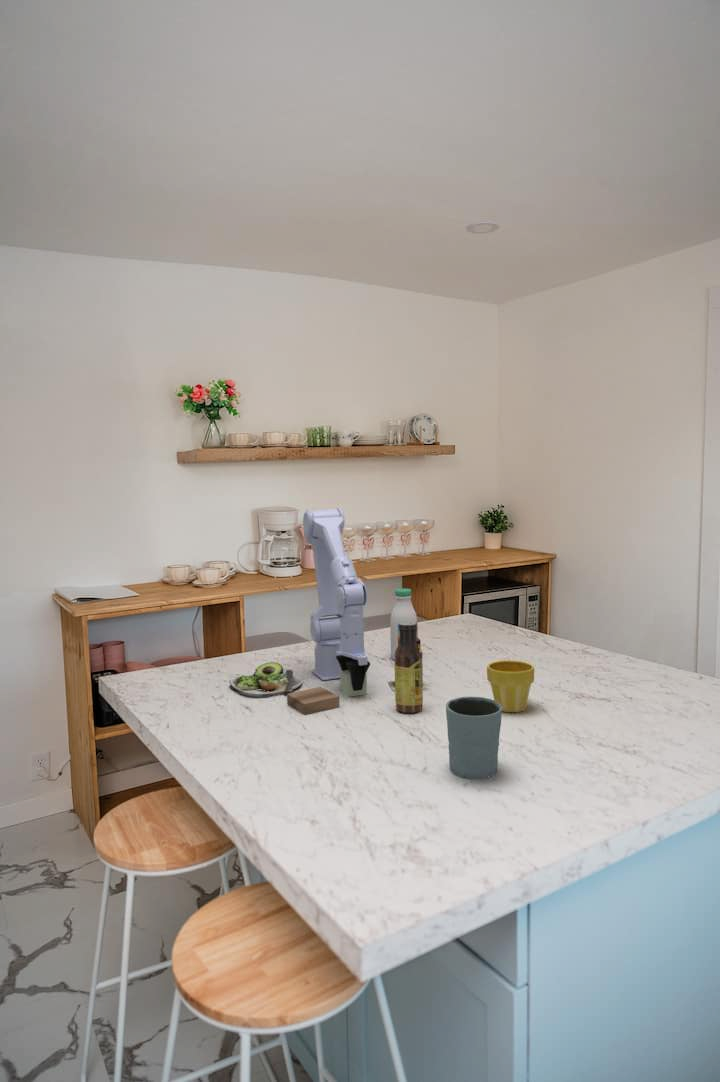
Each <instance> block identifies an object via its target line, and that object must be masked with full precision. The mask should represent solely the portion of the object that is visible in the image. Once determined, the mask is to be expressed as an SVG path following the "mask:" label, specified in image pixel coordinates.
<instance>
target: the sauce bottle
mask: <svg viewBox="0 0 720 1082" xmlns="http://www.w3.org/2000/svg"><path fill="white" fill-rule="evenodd" d="M417 626H418V624H417V625H416V623H415V622H401V623H399V631H400V640H399V641H400V644H399V646H398V647H397V649H396V651H395V660H394V681H395V691H394V696H395V697H394V698H395V699H394V701H395V709H396V710H397V711H398V712H400V713H403V714H413V713H418V712H420V711H421V710H422V709H423V701H424V698H423V697H424V695H423V691H424V689H423V684H424V682H423V681H424V680H423V681H422V666H423V655H422V656H421V653H420V651H419V648H418V645H417V642H416V641H417V640H416V629H417Z"/></svg>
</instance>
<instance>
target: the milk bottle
mask: <svg viewBox="0 0 720 1082" xmlns="http://www.w3.org/2000/svg"><path fill="white" fill-rule="evenodd" d="M394 593H395V596H394V597H395V603H394V607H393V610H392V611H391V614H390V626H389V627H390V657H391V660H392V661H395V651H396V649H397V647H398V646H399V644H400V642H399V640H400V631H399V623H401V622H415V623H416V625H417V629H416V638H419V636H418V634H419V633H418V631H419V629H418V616H417V613H416V611H415V608H414V606H413V603H412V589H411V588H396V589H395V591H394Z"/></svg>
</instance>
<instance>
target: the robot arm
mask: <svg viewBox="0 0 720 1082" xmlns="http://www.w3.org/2000/svg"><path fill="white" fill-rule="evenodd" d="M302 523H303V524H302V525H303V526H302V527H303V534H304V540H305V542H306V543H307V544H309V545H311V549H312V554H313V562H314V572H315V580H316V589H317V596H318V606H317V608H316V609H314V611H312V613H311V615H310V617H309V618H310V626H309V630H310V636H311V639H312V641H313V642H314V643H315V646H314V666H315V667H314V669H311V672H312V673H314V674H315V675H316V676H317V677H318V678H319V679H320V680H322V681H329V680H335V679H340V671H346V670H349V672H350V676H351V682H352V687H353V690H354V691H358V690H362V688H363V683H364V678H365V675H366V676H367V672H368V670H369V667H370V666H371V662H370V661H368V656H367V655H366V648H365V636H364V635H365V630H364V628H365V627H364V606H365V605H366V604H367V601H368V600H367V599H368V594H367V593H368V592H367V588H366V586H365V583H364V582H363V581H362V580H361V578H358V575H357V573H356V569H355V565H354V563H353V560H352V559H351V558H349V557H348V556H346V555H347V554H346V551H345V545H344V541H343V537H342V534H343V532H344V527H345V515H344V511H342V509H341V508H332V509H329V508H327V509H313V510H312V509H306V510H305V511H304V513H303V519H302Z"/></svg>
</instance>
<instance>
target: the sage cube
mask: <svg viewBox="0 0 720 1082" xmlns="http://www.w3.org/2000/svg"><path fill="white" fill-rule="evenodd" d="M367 678H368V677H367V674H366V675H365V678H364V683H363V688H362V690H358V691H354V690H353V687H352V682H351V676H350V672H349V670H346V671H340V678H339V681H340V692H341V693H343V695H344V696H346V697H347V698H349V697H356V696H357V697H358V696H361V695H367V694H368V685H367V684H368V683H367V682H368V681H367Z"/></svg>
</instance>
